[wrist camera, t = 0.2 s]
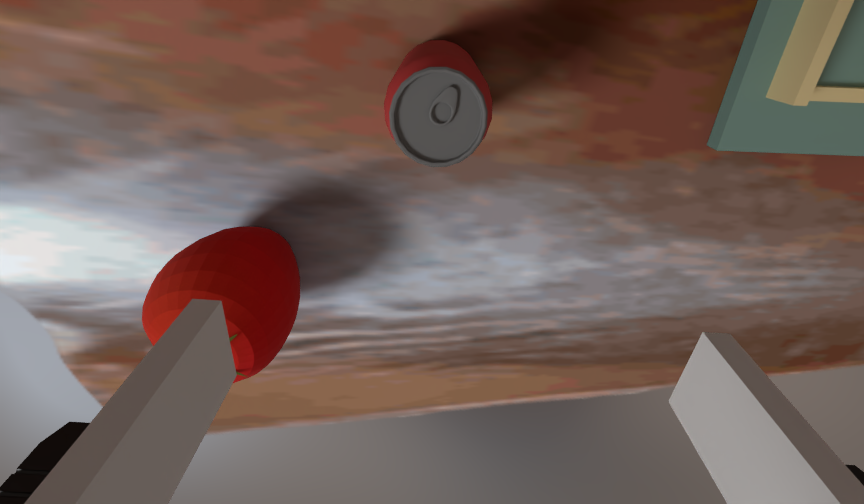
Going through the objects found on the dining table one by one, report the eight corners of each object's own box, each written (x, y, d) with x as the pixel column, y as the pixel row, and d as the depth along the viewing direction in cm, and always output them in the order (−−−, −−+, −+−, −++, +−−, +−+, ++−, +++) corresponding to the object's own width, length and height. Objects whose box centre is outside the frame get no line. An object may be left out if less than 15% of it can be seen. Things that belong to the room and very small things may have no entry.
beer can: (494, 63, 34) (519, 91, 24) (455, 139, 37) (462, 193, 27) (417, 22, 33) (409, 32, 22) (384, 104, 36) (362, 146, 25)
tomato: (282, 326, 47) (228, 440, 35) (180, 273, 44) (81, 378, 32) (341, 244, 42) (301, 344, 30) (231, 178, 39) (136, 260, 27)
